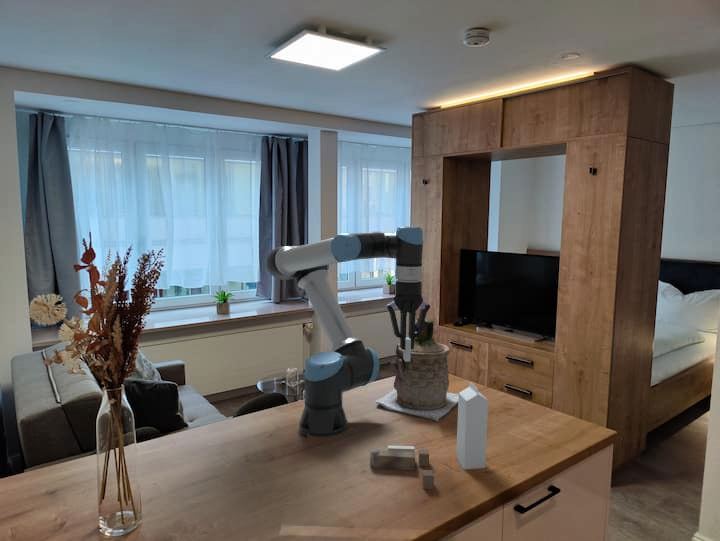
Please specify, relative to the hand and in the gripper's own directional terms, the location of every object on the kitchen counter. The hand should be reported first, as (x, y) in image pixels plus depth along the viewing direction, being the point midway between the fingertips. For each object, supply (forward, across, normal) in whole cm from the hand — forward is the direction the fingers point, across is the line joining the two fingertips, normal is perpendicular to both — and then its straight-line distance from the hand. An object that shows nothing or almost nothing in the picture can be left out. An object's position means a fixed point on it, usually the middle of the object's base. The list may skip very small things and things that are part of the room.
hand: (406, 360), depth 142 cm
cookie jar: (+25, +12, +27) cm, 38 cm away
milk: (+25, +14, -16) cm, 33 cm away
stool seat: (+24, -7, -21) cm, 33 cm away
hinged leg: (+23, -8, -17) cm, 30 cm away
